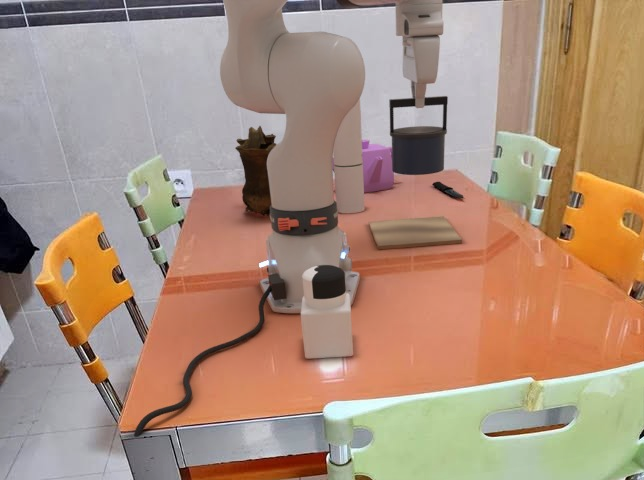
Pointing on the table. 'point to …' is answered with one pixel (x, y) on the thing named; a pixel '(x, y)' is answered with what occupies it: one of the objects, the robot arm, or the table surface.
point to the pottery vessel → (256, 170)
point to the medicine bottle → (326, 313)
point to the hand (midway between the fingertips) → (418, 107)
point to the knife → (447, 189)
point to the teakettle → (376, 167)
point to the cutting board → (413, 232)
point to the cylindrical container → (349, 163)
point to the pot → (418, 141)
